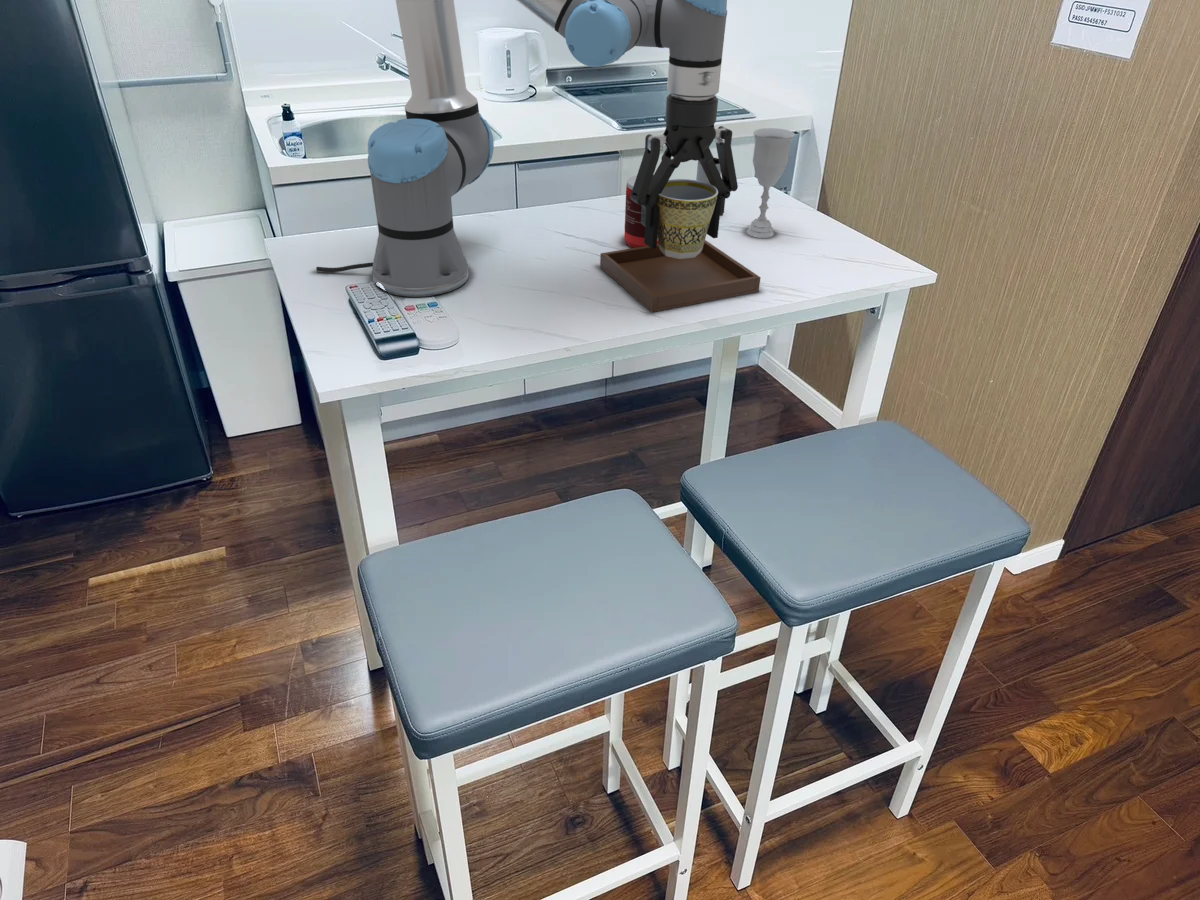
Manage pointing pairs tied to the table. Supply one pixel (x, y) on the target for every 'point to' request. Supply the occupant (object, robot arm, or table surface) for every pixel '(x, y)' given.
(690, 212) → the ceramic cup
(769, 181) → the chalice
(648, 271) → the tray
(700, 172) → the gray cylinder
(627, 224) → the canned food
